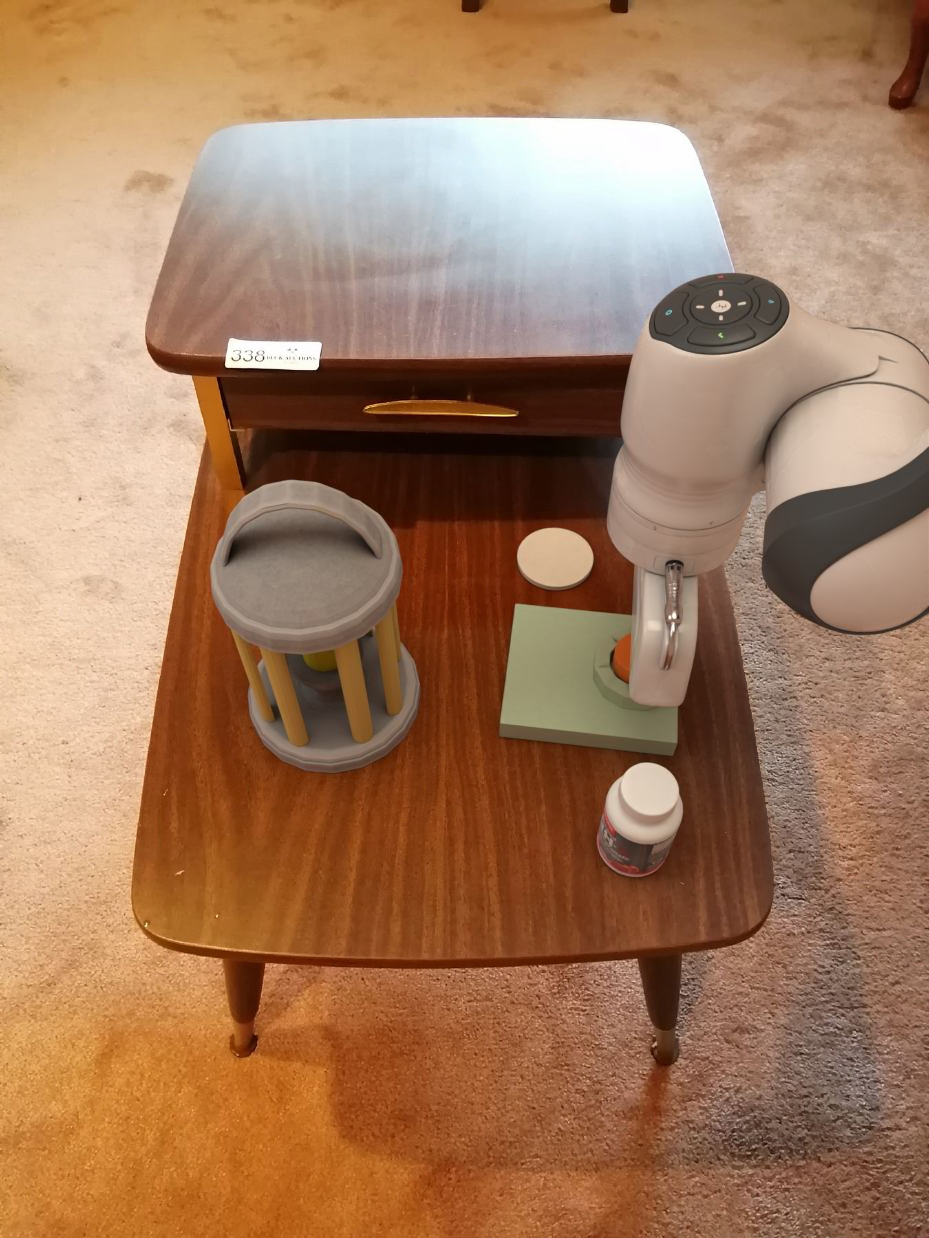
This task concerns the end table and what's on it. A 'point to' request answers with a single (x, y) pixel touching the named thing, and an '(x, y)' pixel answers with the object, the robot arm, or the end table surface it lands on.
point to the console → (577, 685)
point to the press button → (622, 658)
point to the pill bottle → (640, 820)
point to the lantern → (317, 624)
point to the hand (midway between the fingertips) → (649, 631)
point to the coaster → (555, 559)
